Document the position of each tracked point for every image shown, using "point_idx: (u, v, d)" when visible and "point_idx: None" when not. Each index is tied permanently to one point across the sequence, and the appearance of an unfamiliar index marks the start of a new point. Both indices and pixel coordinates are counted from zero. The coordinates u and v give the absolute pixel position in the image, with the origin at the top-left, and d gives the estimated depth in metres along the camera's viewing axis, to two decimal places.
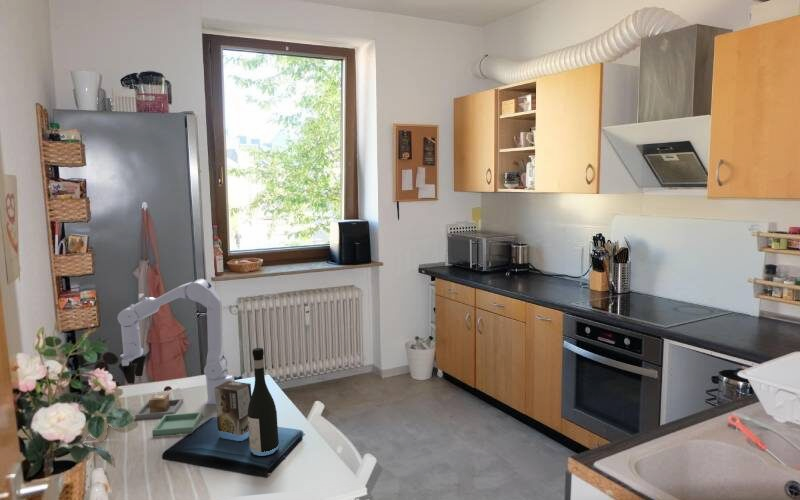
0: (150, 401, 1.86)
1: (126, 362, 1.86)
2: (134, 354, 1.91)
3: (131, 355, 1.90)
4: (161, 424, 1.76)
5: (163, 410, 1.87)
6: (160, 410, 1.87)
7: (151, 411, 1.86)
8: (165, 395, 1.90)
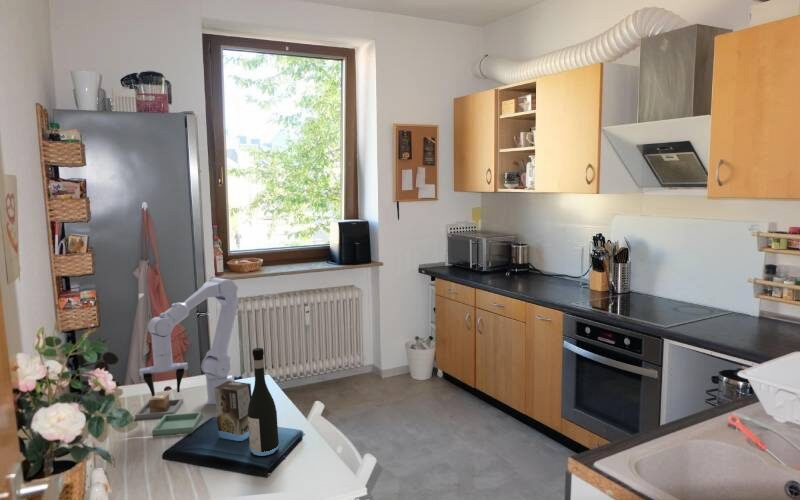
0: (150, 401, 1.86)
1: (139, 372, 1.79)
2: (155, 367, 1.80)
3: (154, 367, 1.80)
4: (161, 424, 1.76)
5: (163, 410, 1.87)
6: (160, 410, 1.87)
7: (151, 411, 1.86)
8: (165, 395, 1.90)
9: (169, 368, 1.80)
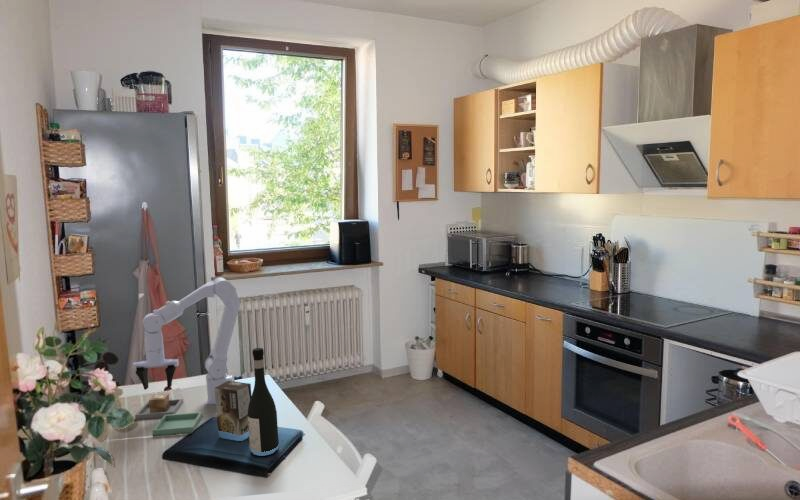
0: (150, 401, 1.86)
1: None
2: (146, 362, 1.86)
3: (146, 361, 1.86)
4: (161, 424, 1.76)
5: (163, 410, 1.87)
6: (160, 410, 1.87)
7: (151, 411, 1.86)
8: (165, 395, 1.90)
9: (159, 364, 1.85)
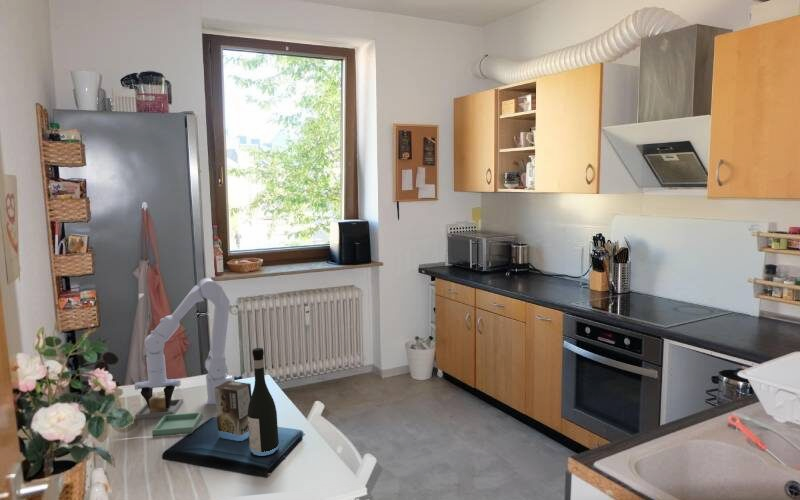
0: (150, 401, 1.86)
1: None
2: (148, 382, 1.86)
3: (148, 382, 1.87)
4: (161, 424, 1.76)
5: (163, 410, 1.87)
6: (160, 410, 1.87)
7: (151, 411, 1.86)
8: None
9: (161, 384, 1.86)
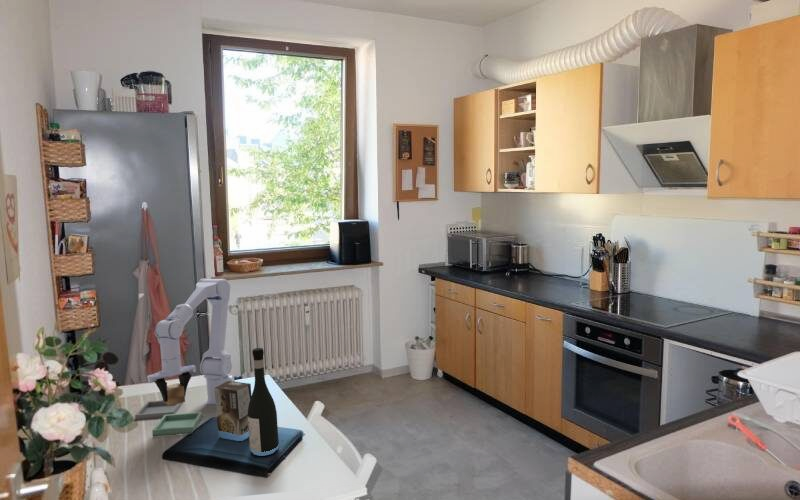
0: (169, 392, 1.73)
1: (149, 379, 1.71)
2: (165, 372, 1.73)
3: (163, 372, 1.73)
4: (161, 424, 1.76)
5: (183, 399, 1.76)
6: (180, 399, 1.76)
7: (170, 402, 1.74)
8: (178, 384, 1.78)
9: (180, 371, 1.75)
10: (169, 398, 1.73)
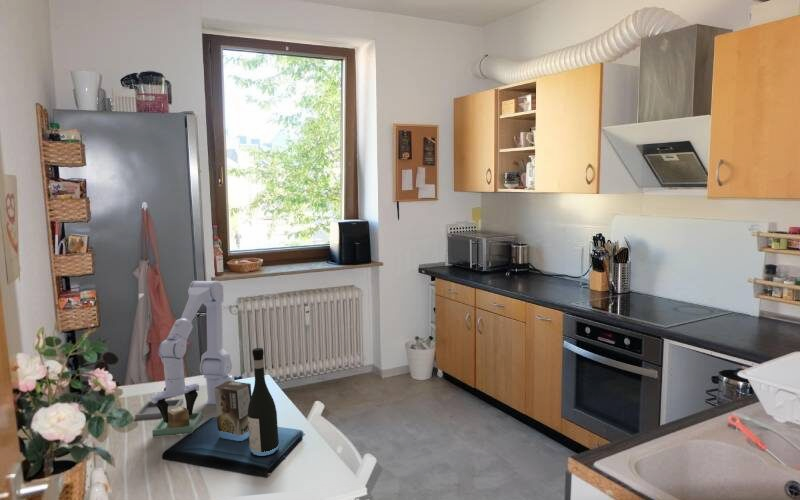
0: (174, 415, 1.73)
1: (153, 399, 1.70)
2: (170, 392, 1.72)
3: (167, 392, 1.73)
4: (161, 424, 1.76)
5: (187, 422, 1.76)
6: (184, 423, 1.75)
7: (175, 426, 1.73)
8: (181, 407, 1.78)
9: (184, 391, 1.75)
10: (174, 422, 1.73)
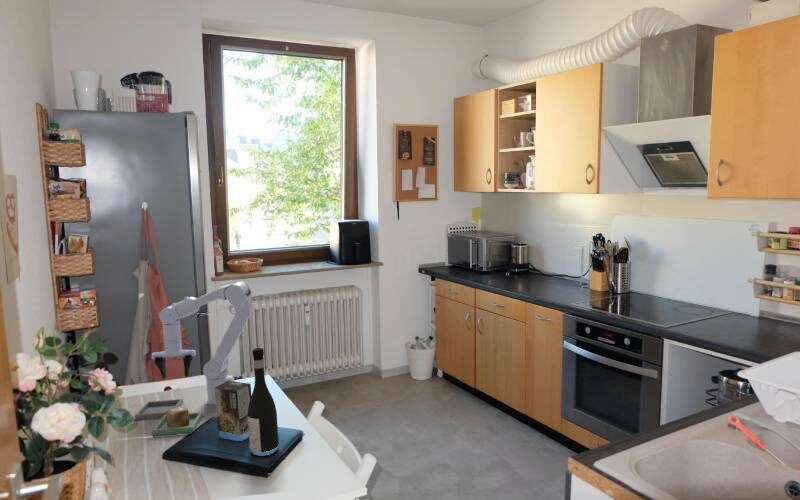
0: (174, 415, 1.73)
1: None
2: (165, 352, 1.94)
3: (164, 352, 1.95)
4: (161, 424, 1.76)
5: (187, 422, 1.76)
6: (184, 423, 1.75)
7: (175, 426, 1.73)
8: (181, 407, 1.78)
9: (177, 354, 1.94)
10: (174, 422, 1.73)
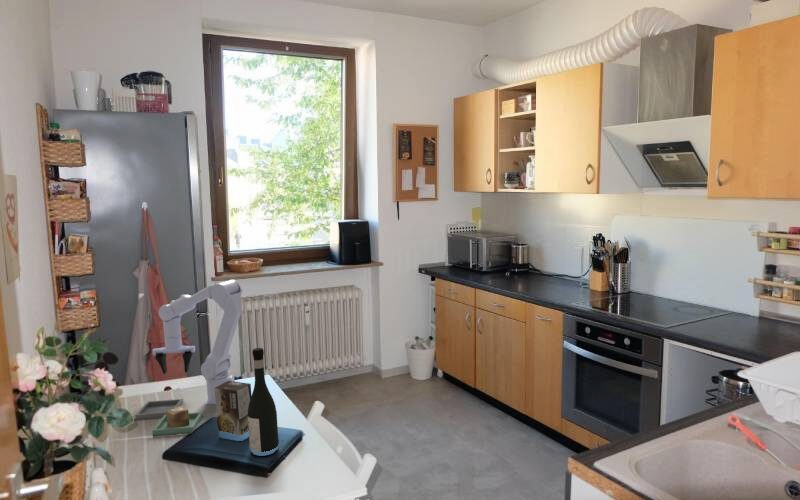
0: (174, 415, 1.73)
1: None
2: (165, 348, 2.00)
3: (165, 348, 2.00)
4: (161, 424, 1.76)
5: (187, 422, 1.76)
6: (184, 423, 1.75)
7: (175, 426, 1.73)
8: (181, 407, 1.78)
9: (177, 350, 1.99)
10: (174, 422, 1.73)
